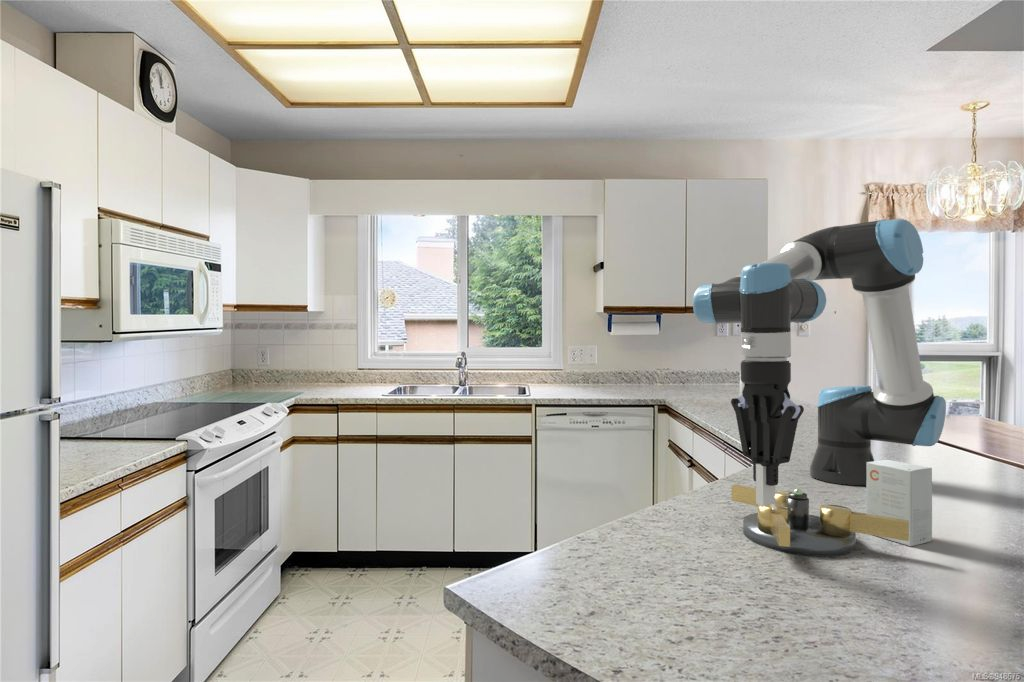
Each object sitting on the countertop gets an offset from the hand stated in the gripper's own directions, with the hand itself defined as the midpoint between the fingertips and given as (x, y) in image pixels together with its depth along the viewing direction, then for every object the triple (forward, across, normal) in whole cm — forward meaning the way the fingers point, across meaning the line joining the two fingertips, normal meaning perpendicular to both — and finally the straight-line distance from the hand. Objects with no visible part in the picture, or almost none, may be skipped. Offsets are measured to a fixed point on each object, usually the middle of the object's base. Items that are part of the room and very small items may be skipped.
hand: (765, 503), depth 99 cm
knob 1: (+7, -13, +14) cm, 20 cm away
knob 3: (+7, +5, +17) cm, 19 cm away
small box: (+9, +3, +28) cm, 30 cm away
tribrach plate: (+9, -4, +12) cm, 15 cm away
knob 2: (+6, -1, +3) cm, 7 cm away
